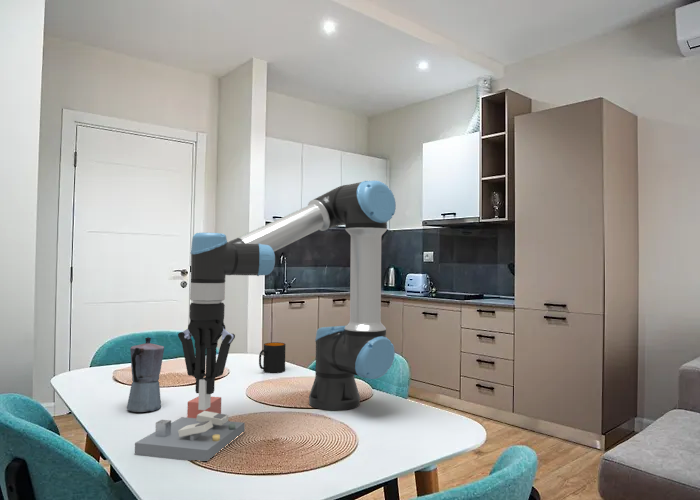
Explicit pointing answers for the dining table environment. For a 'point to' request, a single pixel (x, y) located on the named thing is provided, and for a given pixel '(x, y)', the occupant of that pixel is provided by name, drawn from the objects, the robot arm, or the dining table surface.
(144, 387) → the moka pot
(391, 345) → the robot arm
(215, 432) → the panel
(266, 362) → the mug
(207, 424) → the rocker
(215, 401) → the cap
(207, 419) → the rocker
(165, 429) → the post
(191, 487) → the dining table surface
